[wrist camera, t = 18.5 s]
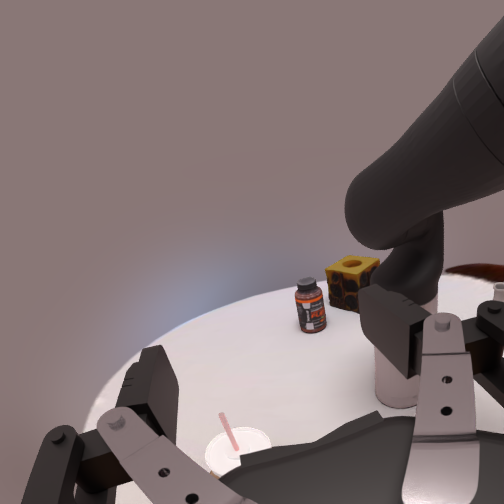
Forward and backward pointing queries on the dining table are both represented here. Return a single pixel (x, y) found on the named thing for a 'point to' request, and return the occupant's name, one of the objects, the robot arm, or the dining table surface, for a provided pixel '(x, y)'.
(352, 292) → the yellow tissue box cover
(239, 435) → the beverage cup
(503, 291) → the flask
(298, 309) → the supplement bottle
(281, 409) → the dining table surface
